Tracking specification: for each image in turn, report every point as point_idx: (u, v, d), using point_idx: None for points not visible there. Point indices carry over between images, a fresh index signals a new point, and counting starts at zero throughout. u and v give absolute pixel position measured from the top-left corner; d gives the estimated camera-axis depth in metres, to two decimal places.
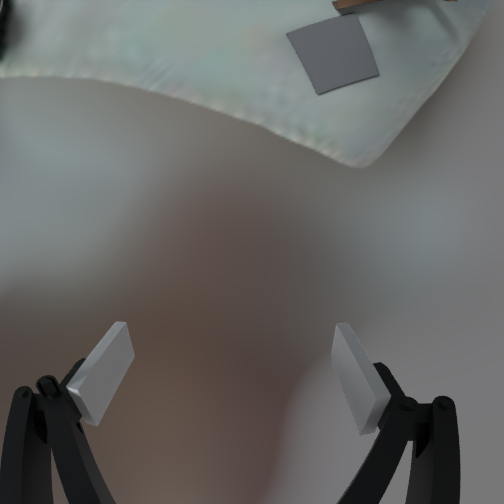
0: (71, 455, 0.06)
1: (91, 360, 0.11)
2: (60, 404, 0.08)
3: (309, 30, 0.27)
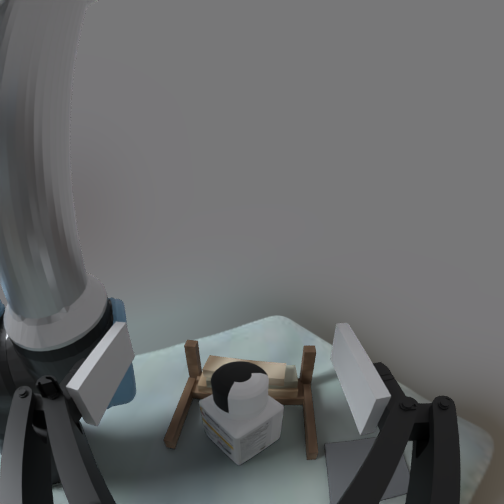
0: (71, 455, 0.06)
1: (91, 360, 0.11)
2: (60, 404, 0.08)
3: (335, 487, 0.22)
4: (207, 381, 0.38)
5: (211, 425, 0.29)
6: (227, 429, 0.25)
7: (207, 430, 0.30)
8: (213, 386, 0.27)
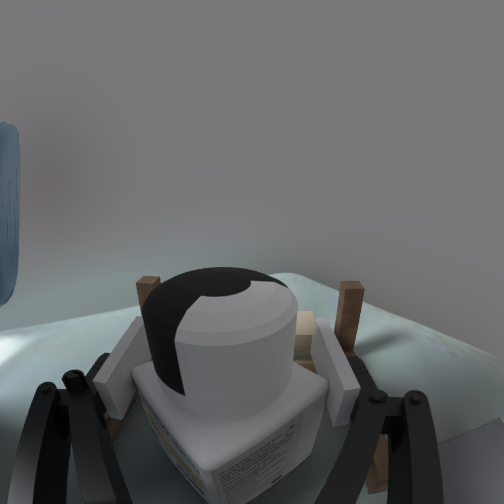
0: (91, 451, 0.06)
1: (116, 354, 0.12)
2: (85, 399, 0.09)
3: None
4: None
5: (158, 429, 0.12)
6: (183, 443, 0.08)
7: (158, 438, 0.13)
8: (144, 312, 0.10)
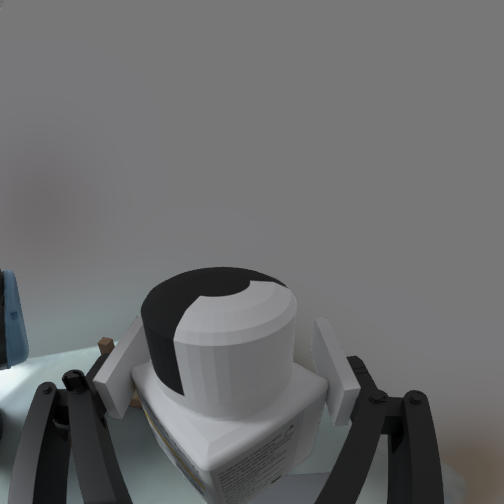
0: (91, 451, 0.06)
1: (116, 354, 0.12)
2: (86, 399, 0.09)
3: None
4: None
5: (157, 429, 0.12)
6: (182, 443, 0.08)
7: (157, 438, 0.13)
8: (143, 312, 0.10)
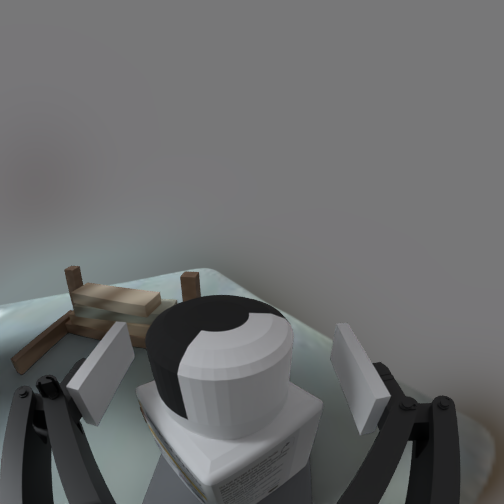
0: (71, 455, 0.06)
1: (91, 360, 0.11)
2: (60, 404, 0.08)
3: (163, 475, 0.13)
4: (74, 307, 0.29)
5: (161, 443, 0.12)
6: (186, 460, 0.09)
7: (161, 450, 0.14)
8: (147, 343, 0.10)
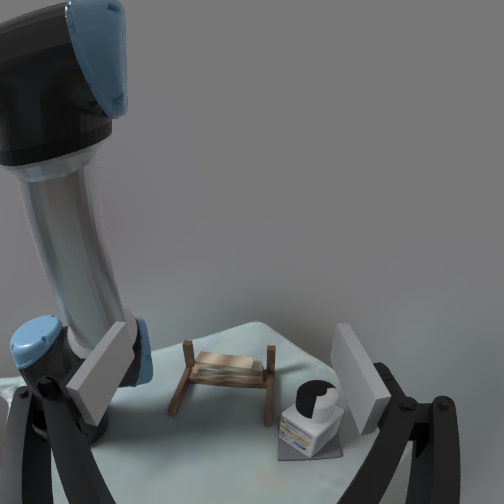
0: (71, 455, 0.06)
1: (91, 360, 0.11)
2: (60, 404, 0.08)
3: (282, 445, 0.38)
4: (198, 369, 0.54)
5: (290, 430, 0.37)
6: (309, 431, 0.34)
7: (283, 434, 0.39)
8: (301, 401, 0.35)
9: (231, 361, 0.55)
